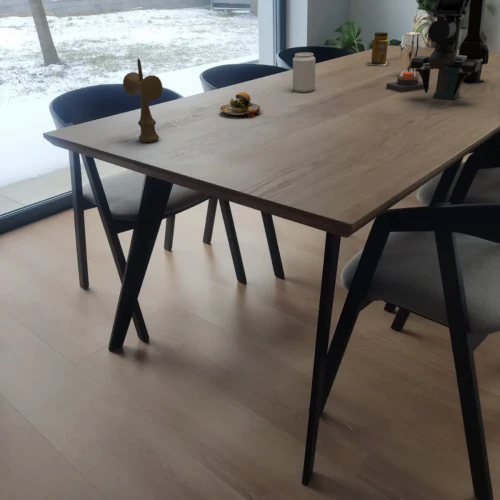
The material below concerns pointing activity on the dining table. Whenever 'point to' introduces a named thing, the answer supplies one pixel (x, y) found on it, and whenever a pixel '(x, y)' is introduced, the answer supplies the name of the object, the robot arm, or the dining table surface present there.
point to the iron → (448, 82)
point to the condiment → (379, 49)
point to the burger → (241, 106)
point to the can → (304, 72)
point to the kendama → (144, 100)
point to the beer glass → (410, 50)
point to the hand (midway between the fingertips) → (440, 94)
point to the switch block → (405, 85)
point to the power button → (408, 75)
